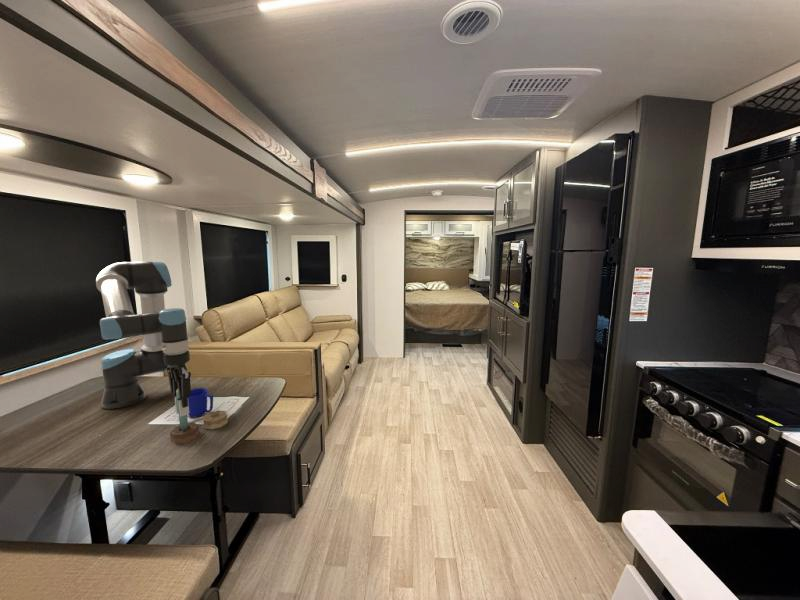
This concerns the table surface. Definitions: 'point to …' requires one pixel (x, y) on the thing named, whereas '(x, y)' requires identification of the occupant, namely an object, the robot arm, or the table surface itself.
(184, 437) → the walnut bead
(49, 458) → the table surface
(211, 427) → the maple bead
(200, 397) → the mug
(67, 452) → the table surface
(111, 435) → the table surface
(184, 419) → the teal rod
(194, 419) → the thin beige rod
